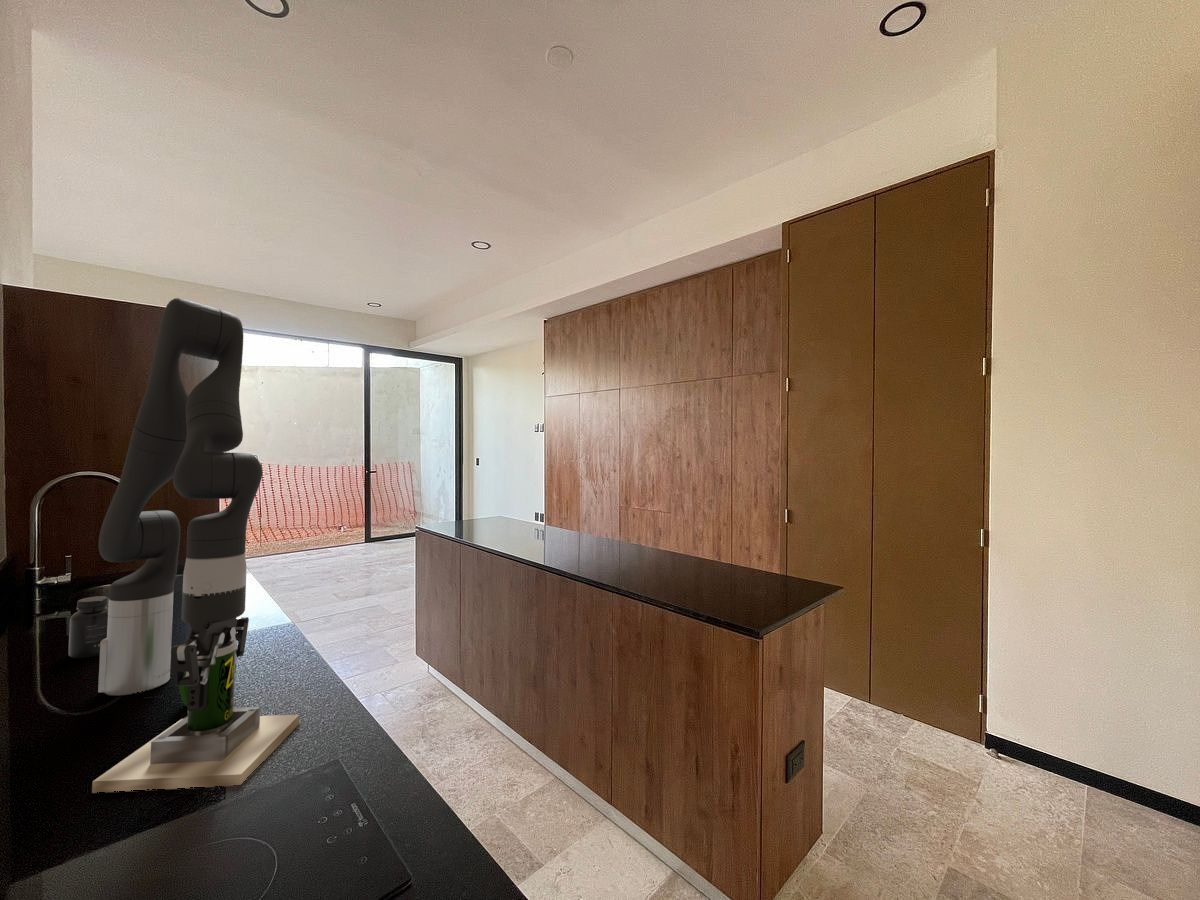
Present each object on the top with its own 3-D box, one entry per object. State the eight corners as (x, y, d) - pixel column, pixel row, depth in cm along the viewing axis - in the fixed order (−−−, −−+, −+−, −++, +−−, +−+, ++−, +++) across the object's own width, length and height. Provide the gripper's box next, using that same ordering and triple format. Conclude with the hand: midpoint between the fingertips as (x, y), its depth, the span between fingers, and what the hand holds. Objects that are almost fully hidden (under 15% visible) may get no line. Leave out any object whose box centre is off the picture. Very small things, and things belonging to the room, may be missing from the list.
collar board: (92, 793, 65) (93, 757, 65) (181, 728, 81) (182, 699, 81) (240, 785, 67) (241, 751, 67) (299, 723, 83) (300, 696, 83)
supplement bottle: (61, 655, 109) (64, 600, 109) (102, 645, 115) (104, 593, 115) (78, 661, 106) (80, 604, 107) (118, 650, 113) (121, 596, 113)
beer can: (184, 740, 70) (187, 654, 70) (189, 723, 75) (192, 643, 75) (231, 730, 73) (234, 647, 73) (233, 714, 78) (236, 636, 78)
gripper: (219, 575, 81) (215, 680, 81) (150, 598, 67) (144, 726, 66) (268, 574, 82) (264, 678, 81) (210, 598, 68) (205, 724, 67)
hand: (210, 699), depth 74 cm, fingers closed on beer can, 5 cm apart
